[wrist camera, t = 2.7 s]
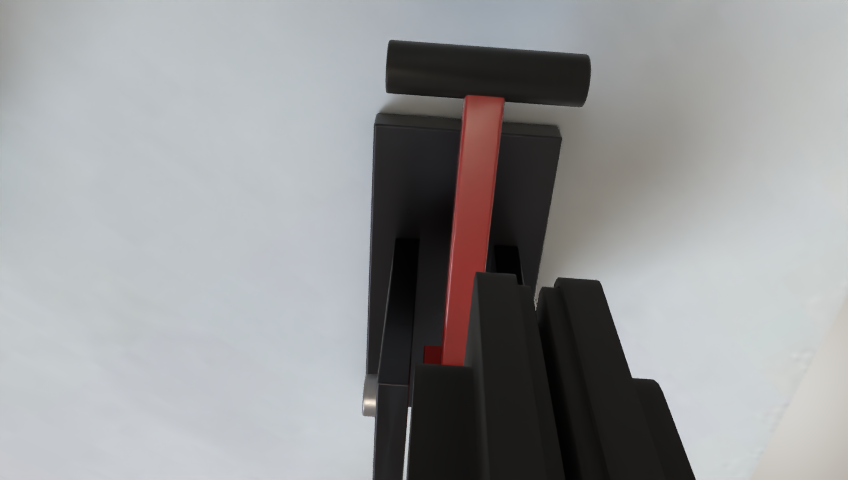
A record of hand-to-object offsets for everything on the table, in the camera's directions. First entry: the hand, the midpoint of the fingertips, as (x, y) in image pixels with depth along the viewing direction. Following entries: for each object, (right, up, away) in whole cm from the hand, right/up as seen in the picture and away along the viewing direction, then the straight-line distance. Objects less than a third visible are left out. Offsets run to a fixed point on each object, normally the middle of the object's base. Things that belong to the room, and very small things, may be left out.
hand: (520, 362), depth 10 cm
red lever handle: (0, +1, +13) cm, 13 cm away
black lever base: (0, 0, +21) cm, 21 cm away
